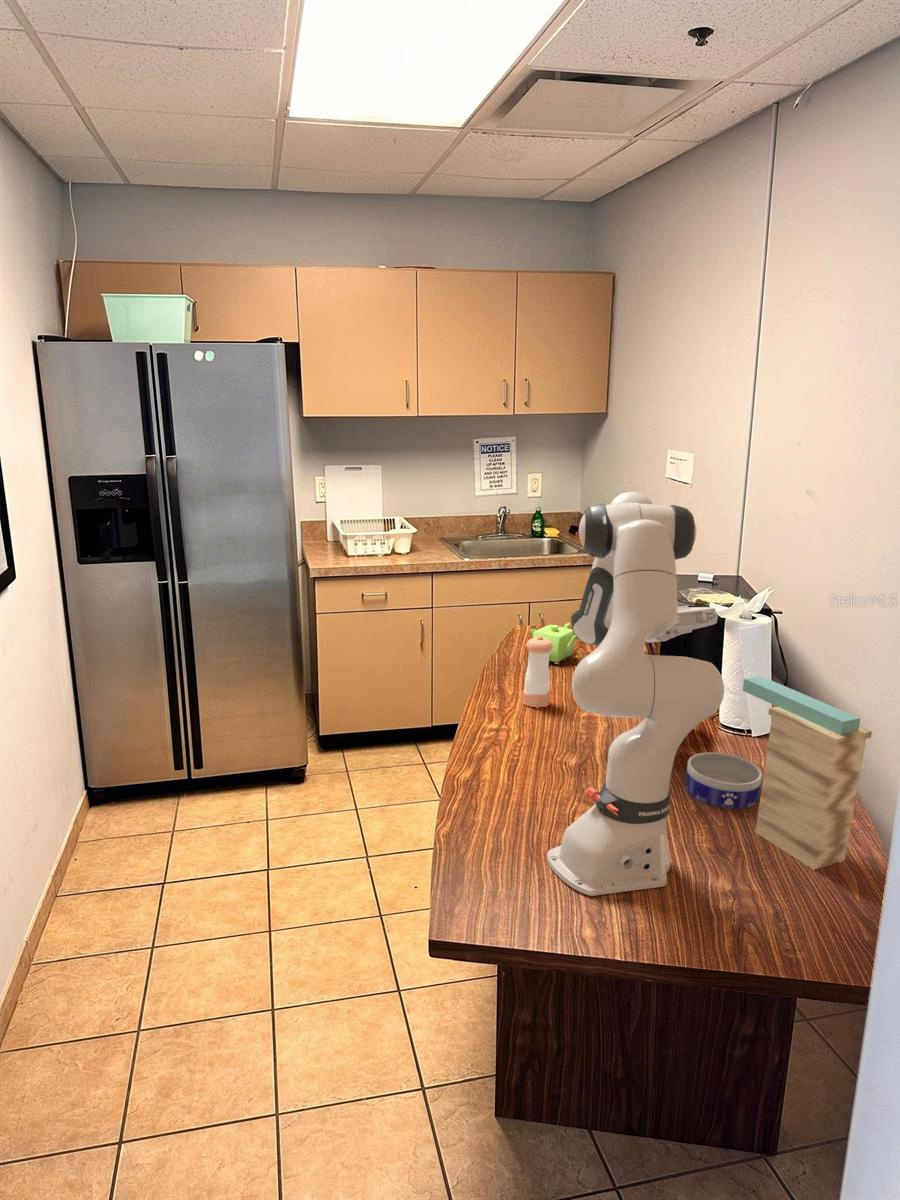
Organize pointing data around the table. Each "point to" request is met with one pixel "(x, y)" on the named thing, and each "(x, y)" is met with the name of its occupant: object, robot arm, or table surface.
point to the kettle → (557, 640)
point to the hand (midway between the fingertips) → (698, 617)
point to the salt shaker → (537, 673)
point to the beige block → (809, 788)
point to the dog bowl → (723, 780)
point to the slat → (802, 705)
